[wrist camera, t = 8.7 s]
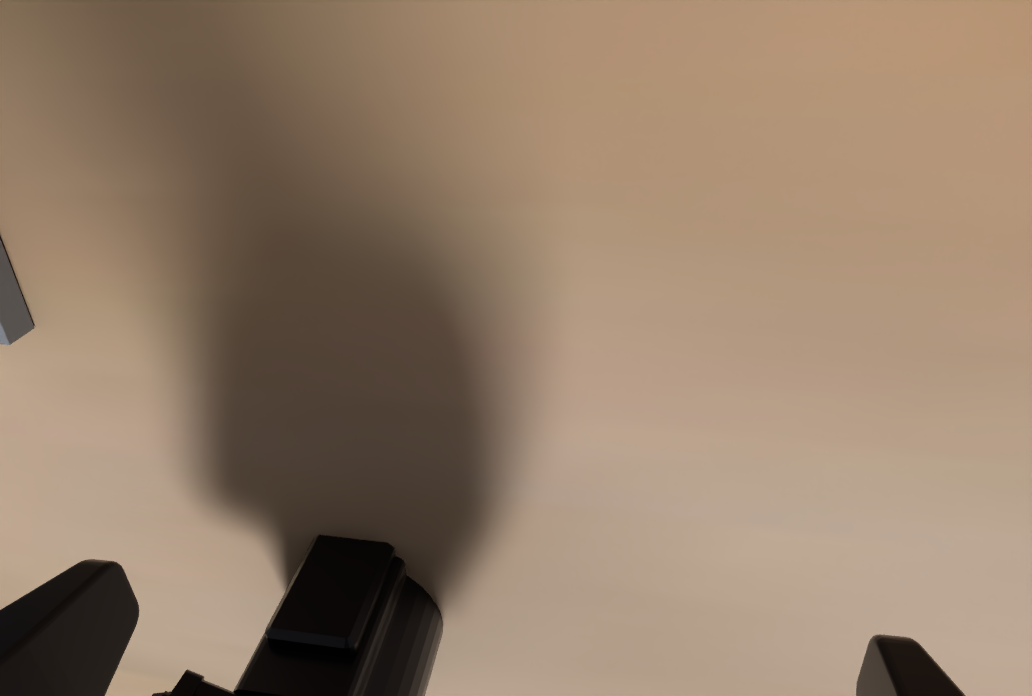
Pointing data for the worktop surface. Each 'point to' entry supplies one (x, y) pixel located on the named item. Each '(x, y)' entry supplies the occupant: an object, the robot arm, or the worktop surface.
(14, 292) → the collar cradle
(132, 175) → the worktop surface
